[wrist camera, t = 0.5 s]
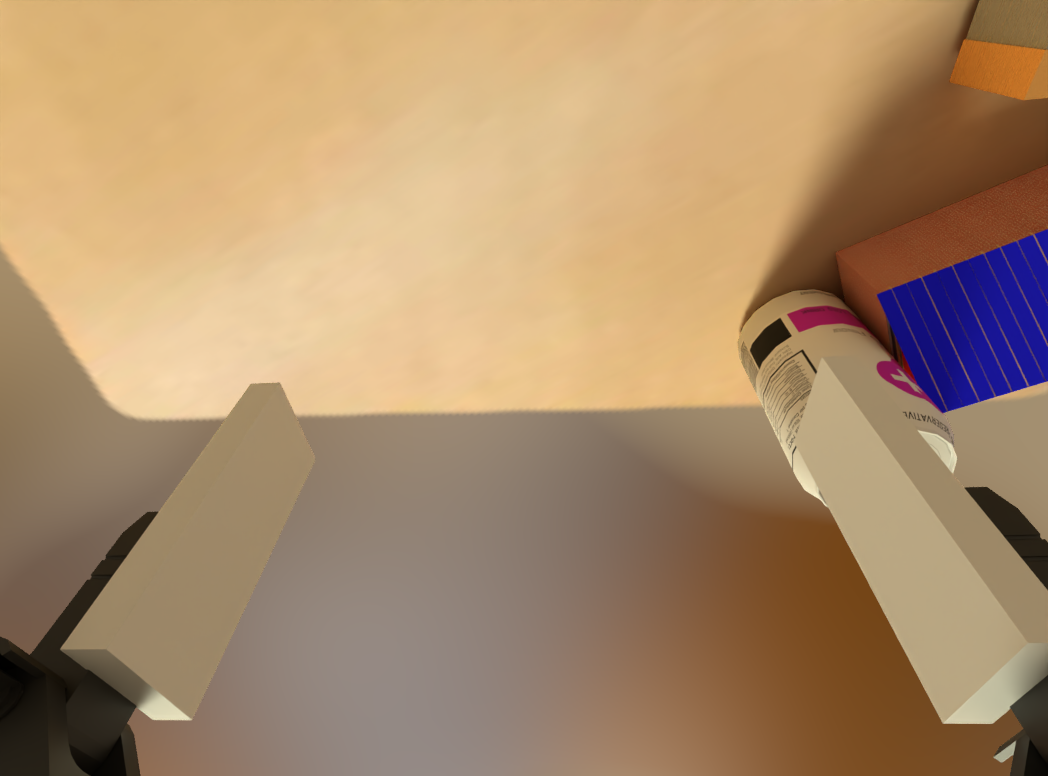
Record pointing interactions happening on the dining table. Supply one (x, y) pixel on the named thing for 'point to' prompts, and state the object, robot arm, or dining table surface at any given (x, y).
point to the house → (961, 293)
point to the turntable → (1006, 49)
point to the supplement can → (793, 359)
